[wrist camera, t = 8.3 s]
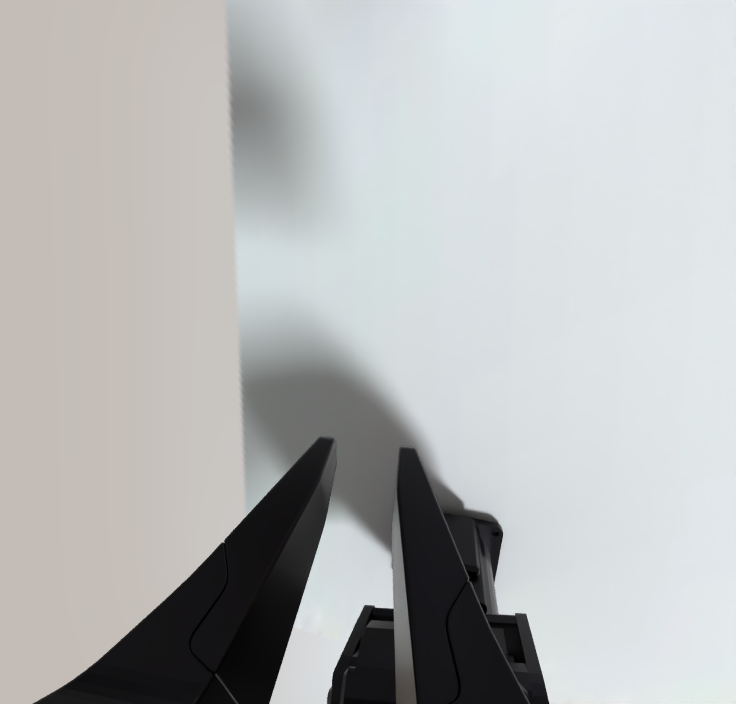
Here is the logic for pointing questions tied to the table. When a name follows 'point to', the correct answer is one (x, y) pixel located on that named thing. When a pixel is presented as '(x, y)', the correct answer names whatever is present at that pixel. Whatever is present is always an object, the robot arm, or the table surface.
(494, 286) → the table surface
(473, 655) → the robot arm
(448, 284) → the table surface
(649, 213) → the table surface
